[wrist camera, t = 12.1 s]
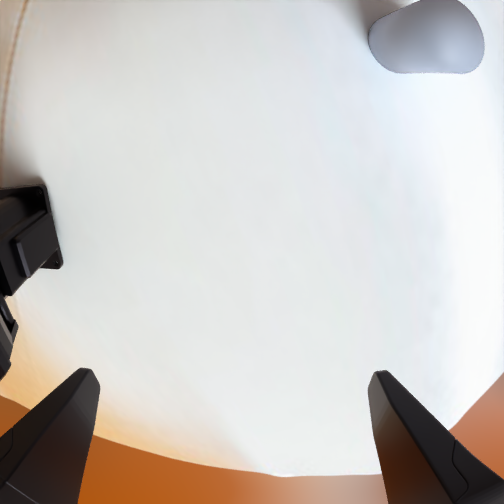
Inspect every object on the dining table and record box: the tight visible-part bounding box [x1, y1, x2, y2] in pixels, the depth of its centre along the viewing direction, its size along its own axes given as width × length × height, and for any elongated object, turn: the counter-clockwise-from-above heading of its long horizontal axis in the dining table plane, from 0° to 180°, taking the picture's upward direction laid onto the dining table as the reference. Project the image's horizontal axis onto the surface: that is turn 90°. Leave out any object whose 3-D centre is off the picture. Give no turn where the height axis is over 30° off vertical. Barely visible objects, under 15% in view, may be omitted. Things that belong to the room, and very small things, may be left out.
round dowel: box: [368, 0, 484, 74], centre depth 11 cm, size 4×4×6 cm
